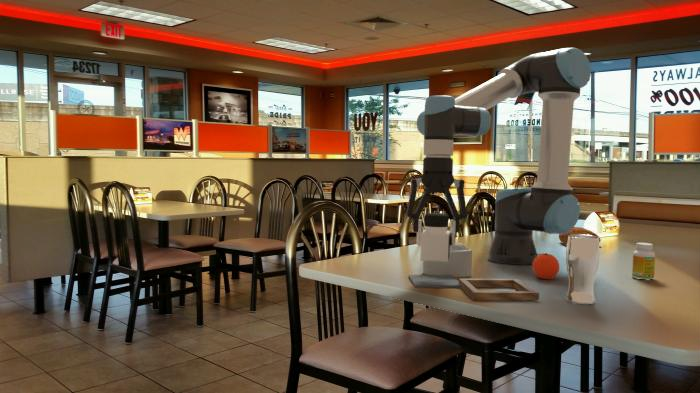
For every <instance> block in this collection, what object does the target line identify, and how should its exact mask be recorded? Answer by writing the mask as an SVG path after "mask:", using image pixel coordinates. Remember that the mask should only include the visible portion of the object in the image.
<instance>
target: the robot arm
mask: <svg viewBox="0 0 700 393" xmlns="http://www.w3.org/2000/svg"><path fill="white" fill-rule="evenodd" d="M591 72H592V69H591V64H590V61H589V59H588V57H587V56H586V54H585V53H584V51H582V50H581V49H579V48H576V47H561V48H559V49H554V50H550V51H545V52H544V51H543V52H542V51H541V52H536V53H533V54H530V55H527V56H525V57H522V58H521V59H519V60H517V61H515V62H514V63H512V64H509V65H508V66H506V67H504V68H503V69H501V70H500V71H499V72H498V73H497V76H494V77H493V78H491V79H489V80H487V81H486V82H483V83H481V84H480V85H478V86H476V87H474V88H472V89H470V90H468V91H467V92H464V93H462V94H461V95H458V96H457V97H454V96H452V95H444V94H443V95H441V94H440V95H429V96H427V98H425V103H424V110H423V111H422V112H420V114H419V115H418V117H417V119H416V128H417V130H418V132H419V134H421V135H422V136H423V155H424V156H425V157H423V164H422V175H421V177H418V178H411V179H410V193H409V198H408V202H407V208H406V212H405V215H406V216H407V217H408V218H411V219H412V231H413V233H416V241H415V242H416V243H415V244H416V245H417V246H420V247H421V233H422V226H423V224H422V219H420V217H421V215H422V212H423V211H424V208H425V206H426V204H427V201H428V200H429V198H430V196H431V194H438V193H439V194H443V196H444V197H445V201H446V202H447V205H448V208H449V210H450V213H451V215H452V218H453V219H450V220H449V221H450V224H449V231H450V245H451V246H455V243H456V234H457V233H459V232H460V221H461V220H462V219H466V218H467V217H468V213H467V204H466V199H465V198H466V197H465V192H464V190H465V189H464V187H465V183H466V182H465V180H464V179H457V178H454V177H455V176H454V174H453V167H454V166H453V165H454V159H453V157H451V156H453V155H454V139H455V138H454V137H456V136H472V137H476V136H483V135H486V134H487V133H488V132H489V130H490V129H491V125H492V115H491V114H490V112H489V109H491V108H493V107H495V106H497V105H498V104H500V103H502V102H504V101H506V100H507V99H509V98H510V99H515V98H517V97H520V96H522V95H525V94H530V93H531V94H532V93H537V95H538V97H539V98H540V99H541V101H542V112H541V124H540V138H539V139H540V140H539V151H538V166H537V176H536V178H537V180H536V182H535V183H533V185H532V186H531V187H517V188H515V187H514V188H504V189H499V190H498V191H497V192H496V195H495V201H494V204H495V205H494V236H493V239H492V242H491V244H490V247H489V249H488V255H487V256H488V261H491V262H494V263H500V264H507V265H533V261H534V259H535V257H536V255H537V254H538V252H537V248H536V245H535V242H534V241H535V240H534V238H533V237H534V236H533V234H534V232H540V233H547V234H549V235H555V234H556V235H559V234H564V233H567V232H569V231H570V230H571V229H572V228H573V227H576V224H577V223H578V220H579V217H580V214H581V205H580V203H579V199H578V198H577V197H576V196H575V195H573V192H574V190H573V187H572V186H571V185H569V170H570V156H571V155H570V154H571V144H572V143H571V142H572V131H573V116H574V104H575V101H576V100H577V99H578V98H579V97H580V96H581V89H582V88H584V87H586V86H587V85H588V82H590V79H591V75H592V73H591ZM421 183H422V185H423V186H424V188H425V189H424V191H423V193H422V196H421V198H420V201H419V202H418V205H417V207H416V209H415V210H414V207H415V202H416V196H417V193H418V187H420V184H421ZM453 184H454V187H455V188H456V193H457V200H458V202H457V203H458V207H459V212H458V209H457V207H456V205H455V202H454V199H453V197H452V194H451V191H450V188H451V187H452V185H453Z"/></svg>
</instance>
